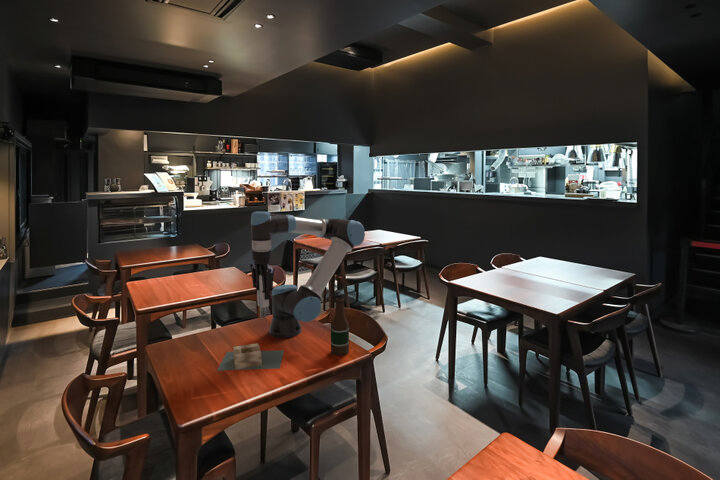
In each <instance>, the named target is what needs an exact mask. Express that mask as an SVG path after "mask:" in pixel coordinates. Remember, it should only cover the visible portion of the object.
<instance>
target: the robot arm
mask: <svg viewBox="0 0 720 480" xmlns="http://www.w3.org/2000/svg"><path fill="white" fill-rule="evenodd" d="M250 229H251V249H252V251H251V258H252V260H253V261H254V262H253V263H251V264H249V267H250V270H251V271H250V272H251V280H252V287H253V288H254V289H255V290H256V298H257V300H256V301H257V306H258V307H260V289H259V274H261V276H262V283H263V291H262V306H263V308H265V307H267V308H268V307H270V292H271V304H272V305H271V308H272V309H271V310H272V311H271V312H272V320H271V322H270V325H269V330H268V332H269V336H271V337H272V338H276V339H291V338H294V337H297V336H299V335H300V334H301V333H302V325H301V322H304V323H305V322H306V323H307V322H308V323H309V322H312V321H314V320H315V319H317V317H319V315H320V314H321V311H322V303H321V302H322V299H323V297H322V294H323V292H324V290H325V288H326V287H327V286H328V284H329V282H330V280H331V279H332V277H333V276H334V274H335V273H336V271H337V270H338V268H339V266H340V265H341V263H342V262H343V259H344V258H345V257H346V254H347V253H351V252H352V251H353V249H354V248H355V247H357V246H360V245H361V244H363V243H364V240H365V235H366V233H365V230H366V229H365V227H364V225H363V224H362V223H361V222H360V221H356V220H354V219H353V220H352V219H351V220H350V219H342V218H322V217H319V218H318V219H313V218H306V217H300V216H299V217H298V216H294V215H292V214H276V213H271V212H270V211H253V212H252V213H251V216H250ZM289 233H291V234H292V233H293V234H302V235H310V236H311V235H312V236H315V237H317V238H319V239H320V238H321V239H325V240H329V241H331V243H330V245H329V247H328V248H327V249H326V252H325V253H324V255H323V256H322V258H321V259H320V261H319V263H318V264H317V265H316V267H315V269H314V270H313V272H312V273H311V275H310V276H309V278H308V279H307V282H306V283H305V284H301V285H300V286H299V287H297V285H295V284H282V285H278V286H277V285H276V286H275V287H274V276H275V275H274V273H275V270H276V268H275V267H272V266H271V263H270V260H271V259H272V250H271V249H272V235H276V234H277V235H278V234H289Z"/></svg>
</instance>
